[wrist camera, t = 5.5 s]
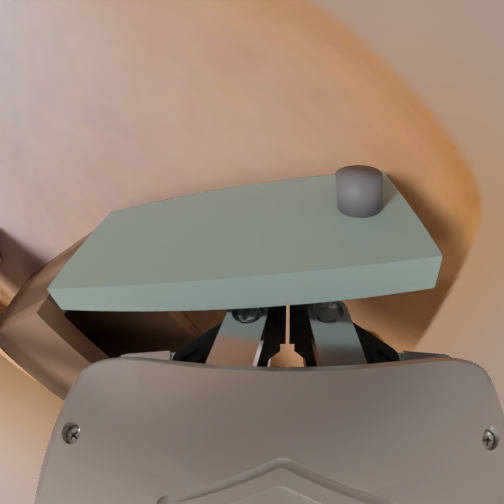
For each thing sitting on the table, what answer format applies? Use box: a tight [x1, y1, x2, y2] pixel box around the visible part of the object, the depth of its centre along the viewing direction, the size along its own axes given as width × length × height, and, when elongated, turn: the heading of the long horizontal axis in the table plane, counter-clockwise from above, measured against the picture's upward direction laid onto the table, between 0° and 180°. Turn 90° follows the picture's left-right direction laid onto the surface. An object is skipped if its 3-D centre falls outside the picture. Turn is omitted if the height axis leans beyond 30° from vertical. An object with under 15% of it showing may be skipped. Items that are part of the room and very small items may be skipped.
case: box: [0, 232, 203, 400], centre depth 19 cm, size 18×14×8 cm
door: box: [47, 165, 443, 311], centre depth 10 cm, size 14×2×6 cm, turn 102°
